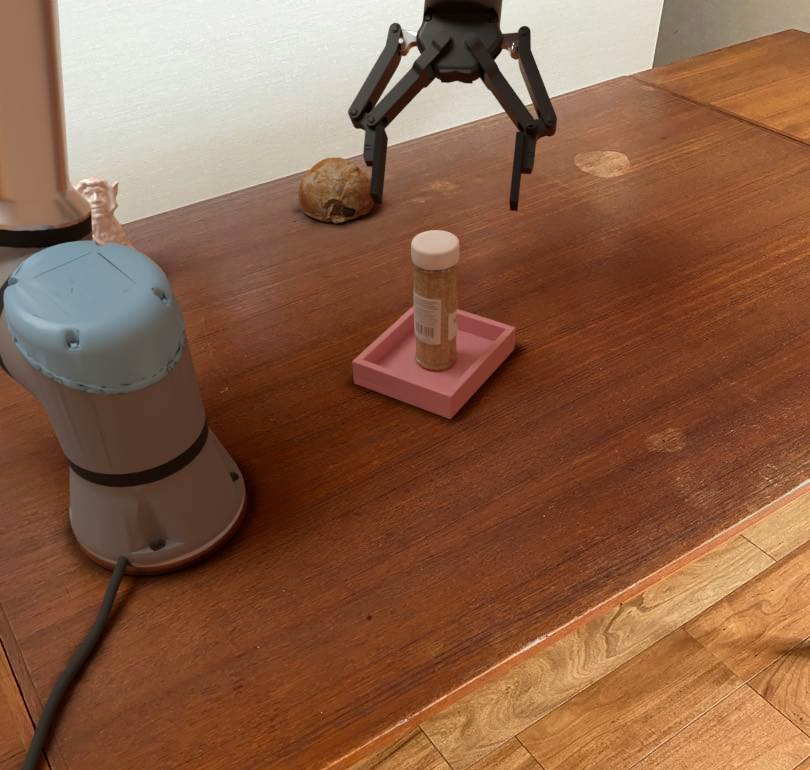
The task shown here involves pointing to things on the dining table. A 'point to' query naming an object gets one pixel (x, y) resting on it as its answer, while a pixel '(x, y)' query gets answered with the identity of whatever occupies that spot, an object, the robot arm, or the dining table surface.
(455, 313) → the spice jar
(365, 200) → the bread roll
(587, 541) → the dining table surface
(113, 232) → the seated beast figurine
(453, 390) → the pink tray
